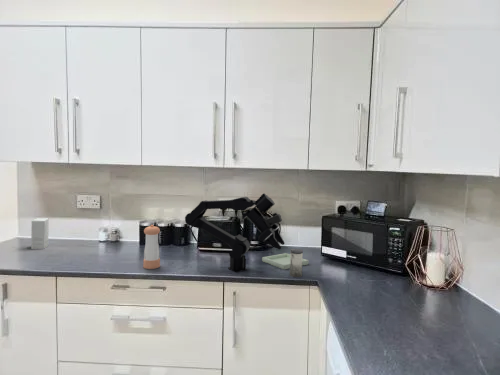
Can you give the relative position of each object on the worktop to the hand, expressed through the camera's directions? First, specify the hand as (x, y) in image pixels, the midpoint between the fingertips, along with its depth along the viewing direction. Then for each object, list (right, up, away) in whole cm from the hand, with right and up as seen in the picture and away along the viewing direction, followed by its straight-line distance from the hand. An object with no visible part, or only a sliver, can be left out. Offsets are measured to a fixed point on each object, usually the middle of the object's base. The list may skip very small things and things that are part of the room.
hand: (282, 246), depth 145 cm
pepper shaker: (-59, -11, +7) cm, 60 cm away
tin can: (+6, -12, -1) cm, 14 cm away
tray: (+3, -11, +18) cm, 22 cm away
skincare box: (-128, -7, +37) cm, 134 cm away
